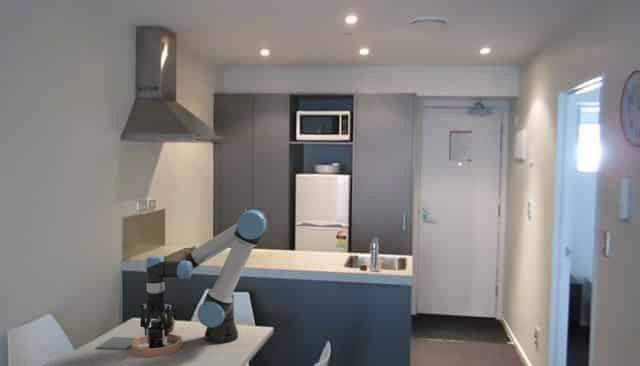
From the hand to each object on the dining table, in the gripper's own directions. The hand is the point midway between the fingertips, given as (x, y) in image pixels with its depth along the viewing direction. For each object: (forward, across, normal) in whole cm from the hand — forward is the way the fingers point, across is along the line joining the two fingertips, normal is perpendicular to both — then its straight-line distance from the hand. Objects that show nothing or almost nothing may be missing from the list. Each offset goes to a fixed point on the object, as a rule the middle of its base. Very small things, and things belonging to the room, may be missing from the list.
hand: (156, 342), depth 237 cm
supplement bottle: (+2, 0, 0) cm, 2 cm away
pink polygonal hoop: (+2, 0, 0) cm, 2 cm away
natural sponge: (+2, +4, -17) cm, 18 cm away
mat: (+2, +19, -2) cm, 19 cm away
